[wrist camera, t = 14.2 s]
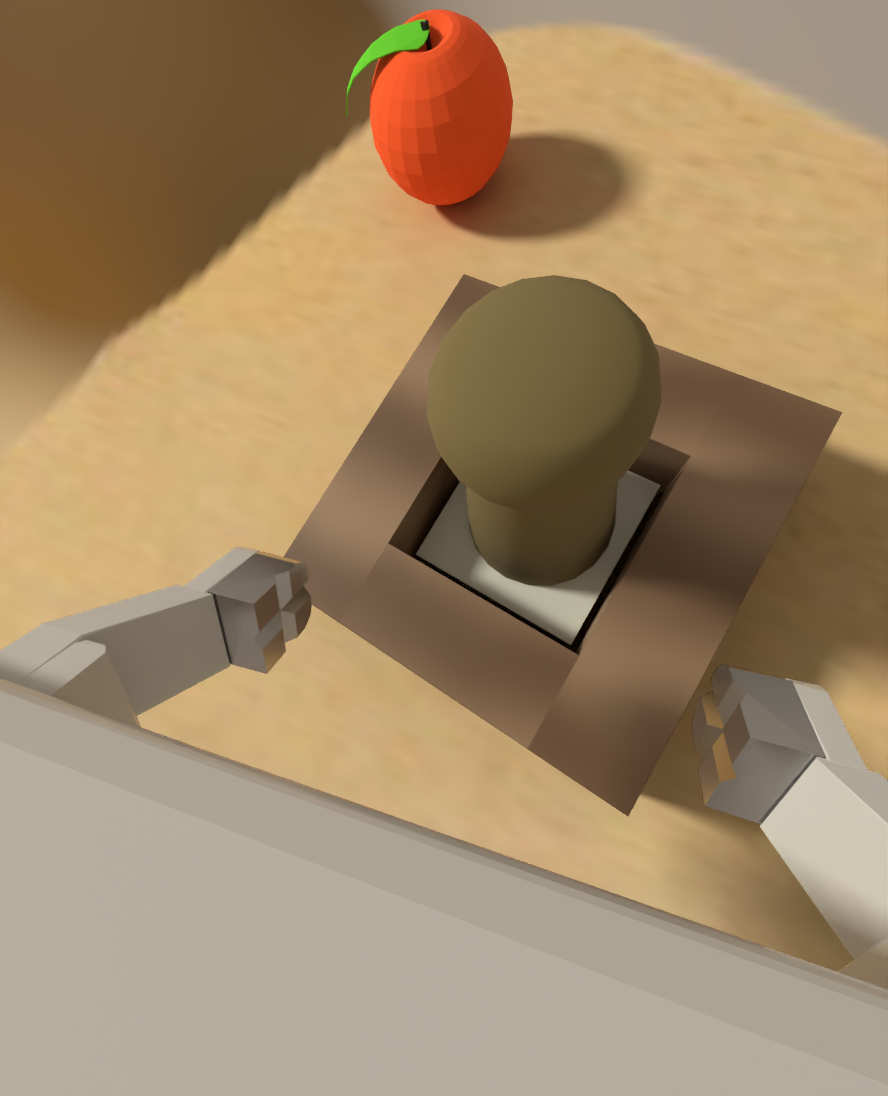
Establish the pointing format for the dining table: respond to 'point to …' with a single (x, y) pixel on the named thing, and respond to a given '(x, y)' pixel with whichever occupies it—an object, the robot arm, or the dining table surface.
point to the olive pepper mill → (543, 420)
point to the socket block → (634, 597)
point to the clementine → (438, 105)
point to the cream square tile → (538, 604)
